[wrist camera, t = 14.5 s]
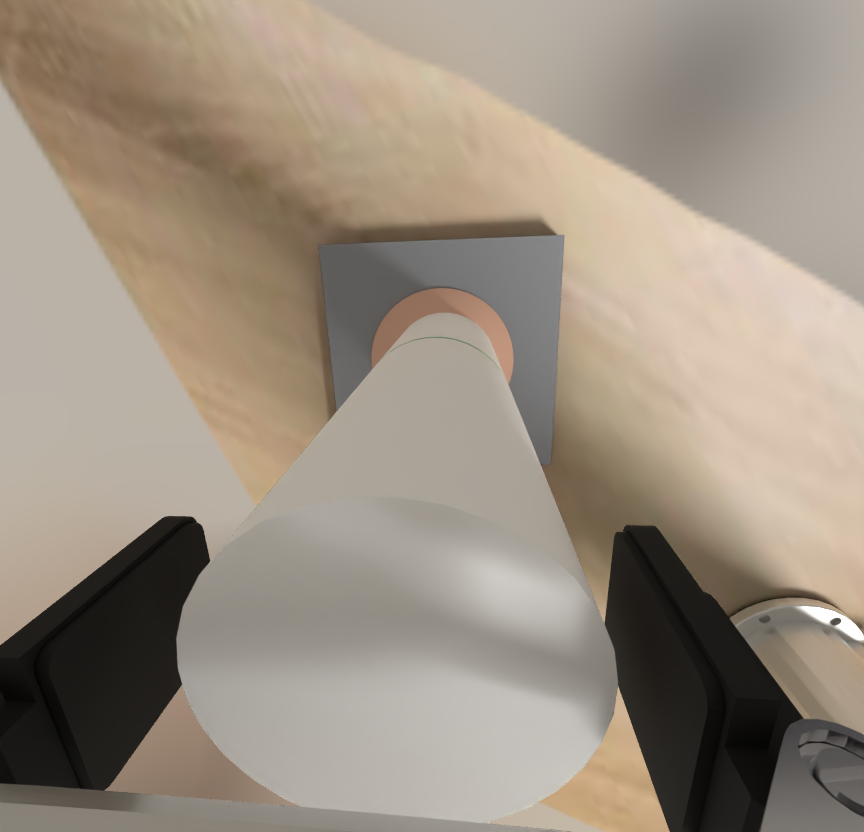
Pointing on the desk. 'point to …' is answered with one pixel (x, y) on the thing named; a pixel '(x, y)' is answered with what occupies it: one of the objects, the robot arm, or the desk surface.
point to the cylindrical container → (405, 606)
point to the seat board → (451, 309)
